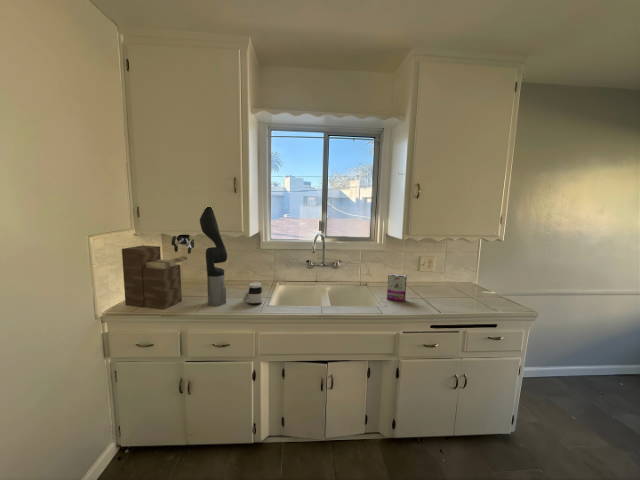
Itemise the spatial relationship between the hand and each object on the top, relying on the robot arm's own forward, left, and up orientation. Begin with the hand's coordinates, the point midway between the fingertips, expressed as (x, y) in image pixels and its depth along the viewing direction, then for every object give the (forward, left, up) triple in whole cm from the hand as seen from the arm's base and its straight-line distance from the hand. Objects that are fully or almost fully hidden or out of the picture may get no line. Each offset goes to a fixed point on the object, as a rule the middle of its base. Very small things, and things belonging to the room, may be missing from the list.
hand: (182, 252), depth 178 cm
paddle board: (+11, +21, -2) cm, 24 cm away
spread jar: (-27, +51, -25) cm, 63 cm away
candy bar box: (-104, +97, -25) cm, 144 cm away
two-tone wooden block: (+20, +21, -25) cm, 38 cm away
